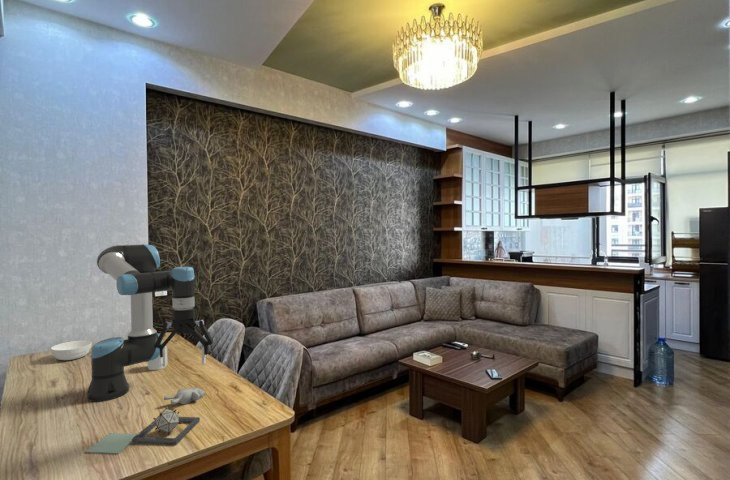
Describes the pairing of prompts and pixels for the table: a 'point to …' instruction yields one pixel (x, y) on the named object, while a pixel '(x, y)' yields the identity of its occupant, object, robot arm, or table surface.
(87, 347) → the bowl
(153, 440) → the socket frame
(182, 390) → the grey teddy bear
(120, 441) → the pad
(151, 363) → the mug
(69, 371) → the table surface
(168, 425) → the game die
